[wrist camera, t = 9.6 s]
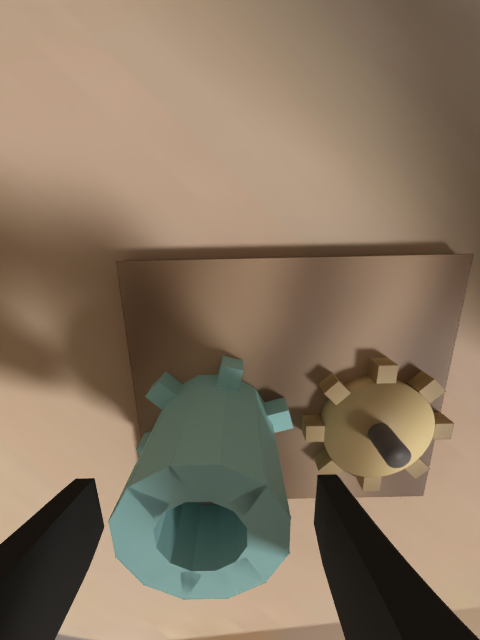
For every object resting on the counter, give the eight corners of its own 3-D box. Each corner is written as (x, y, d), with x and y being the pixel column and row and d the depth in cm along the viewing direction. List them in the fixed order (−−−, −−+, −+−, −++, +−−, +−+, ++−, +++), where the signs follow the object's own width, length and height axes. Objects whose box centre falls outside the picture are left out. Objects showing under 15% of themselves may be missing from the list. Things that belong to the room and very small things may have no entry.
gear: (291, 354, 11) (330, 432, 6) (286, 481, 13) (315, 616, 8) (134, 357, 11) (55, 438, 6) (151, 483, 13) (99, 620, 8)
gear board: (456, 253, 11) (589, 256, 7) (413, 482, 14) (485, 579, 10) (124, 260, 11) (55, 267, 7) (154, 487, 14) (119, 586, 10)
